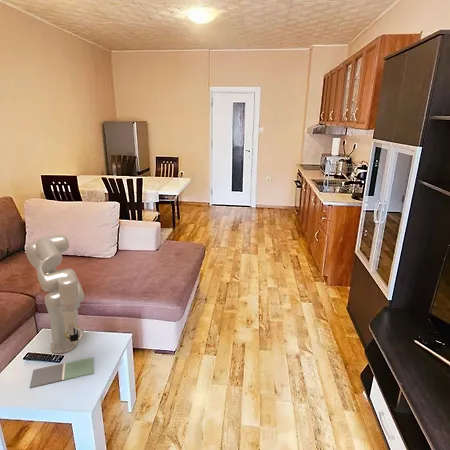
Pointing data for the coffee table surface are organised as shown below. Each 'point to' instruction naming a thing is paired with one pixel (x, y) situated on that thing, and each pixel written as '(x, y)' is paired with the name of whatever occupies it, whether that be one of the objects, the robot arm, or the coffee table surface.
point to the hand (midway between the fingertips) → (74, 339)
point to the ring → (78, 337)
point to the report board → (62, 372)
